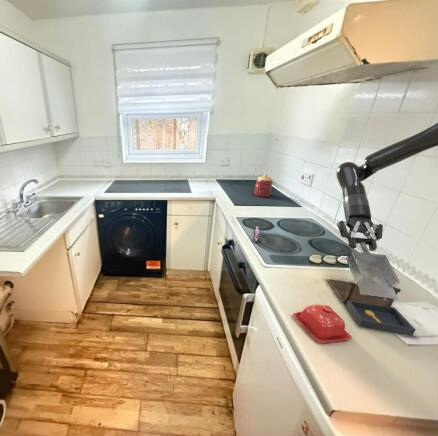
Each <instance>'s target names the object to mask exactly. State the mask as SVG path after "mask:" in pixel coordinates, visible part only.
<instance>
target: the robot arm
mask: <svg viewBox="0 0 438 436" xmlns="http://www.w3.org/2000/svg"><path fill="white" fill-rule="evenodd" d="M435 147H438V122H436V123H434V124H433V125H432V126H429V127H428V128H426V129H424V130H422V131H420V132H418V133H416V134H414V135H412V136H409V137H407V138H404V139H402V140H398V141H397V142H395V143H392V144H389V145H387V146H385V147H383V148H381V149H379V150H377V151H374V152H371V154H368V155H367V156H365V157H364V163H363V164H362V165H360V166H359V165H357V164H356V163H355V162H352V161H345V162H342V163H341V164H340V165H339V166H338V167H337V168H336V173H335V175H336V179H337V181H338V185H339V186H340V188H341V191H342V200H343V201H342V202H343V203H342V204H343V206H342V207H343V212H344V221H343V220H340V221H338V222H337V223H336V227H337V228H338V231H339V234H340V236H341V238H345V239H347V242H348V247H349V248H350V249H351V250H354V249H357V243H356V240H355V238H354V237H356V236H355V235H356V234H357V233H359V234H362V235H363V236H364V237H365V238H366V239H371V244H370V245H368V250H369V252H374V251H376V250H377V248H378V245H377V241H379V240H381V239H382V238H383V229H384V225H383V224H382V223H379V224H376V223H374V222H373V221H372V213H371V208H370V207H371V206H370V201H369V199H368V196H367V191H366V187H365V185H364V184H363V183H362V182H363V181H365V180H367V179H368V178H370V177H372V176H374V174H376V173H378V171H382V170H383V169H386V168H388V167H390V166H393V165H396V164H399V163H400V162H402V161H405V160H407V159H409V158H411V157H413V156H416V155H418V154H420V153H422V152H425V151H427V150H430V149H433V148H435ZM348 228H349V229H348Z"/></svg>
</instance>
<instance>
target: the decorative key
mask: <svg viewBox="0 0 438 436" xmlns="http://www.w3.org/2000/svg"><path fill="white" fill-rule="evenodd" d="M254 232H255V234H254V239H253V242H256V243H257V242H258V239H259V234H260V229H259V226H258V225H256V227H255V231H254Z"/></svg>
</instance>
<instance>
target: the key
mask: <svg viewBox="0 0 438 436" xmlns="http://www.w3.org/2000/svg"><path fill="white" fill-rule="evenodd" d="M365 314H367V315H368V316H371V317H372V318H373V319H374V320H375V321H377V322H380V321H379V320H378V319H377V318H376V317H375V316H374V315H375V314H374V313H373V312H372V311H369V310H365ZM381 323H382V322H381Z"/></svg>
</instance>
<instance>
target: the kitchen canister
mask: <svg viewBox="0 0 438 436" xmlns="http://www.w3.org/2000/svg"><path fill="white" fill-rule="evenodd" d="M255 182H256V183H255V185H254V190H253V195H254V196H256V197H259V198H269V197H271V195H272V189H273V184H274V182H273V178H272V177H270V176H268V174H263V175H260V176H258V177H257V179H256V180H255Z"/></svg>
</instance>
